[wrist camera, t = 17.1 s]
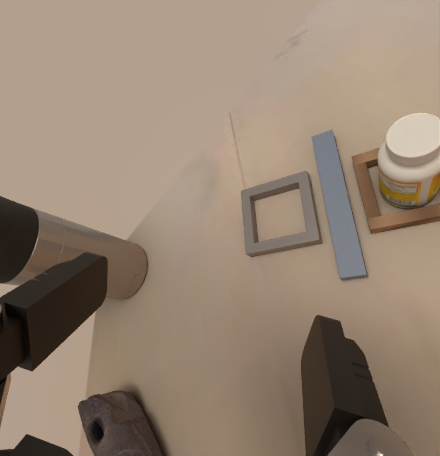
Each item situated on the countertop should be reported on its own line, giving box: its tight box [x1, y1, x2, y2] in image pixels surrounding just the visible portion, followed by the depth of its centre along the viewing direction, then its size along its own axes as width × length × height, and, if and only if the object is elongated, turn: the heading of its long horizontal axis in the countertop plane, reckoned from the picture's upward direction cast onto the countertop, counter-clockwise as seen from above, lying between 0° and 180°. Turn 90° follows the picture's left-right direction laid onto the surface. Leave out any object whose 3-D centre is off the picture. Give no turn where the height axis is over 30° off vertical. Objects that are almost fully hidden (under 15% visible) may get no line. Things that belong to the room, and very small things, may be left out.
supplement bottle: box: [378, 113, 440, 209], centre depth 26 cm, size 5×5×10 cm
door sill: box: [312, 130, 368, 280], centre depth 33 cm, size 18×2×2 cm, turn 3°
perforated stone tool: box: [78, 391, 163, 456], centre depth 34 cm, size 15×5×7 cm, turn 45°
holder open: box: [241, 171, 322, 257], centre depth 36 cm, size 9×9×2 cm
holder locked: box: [352, 148, 440, 234], centre depth 30 cm, size 9×9×2 cm
